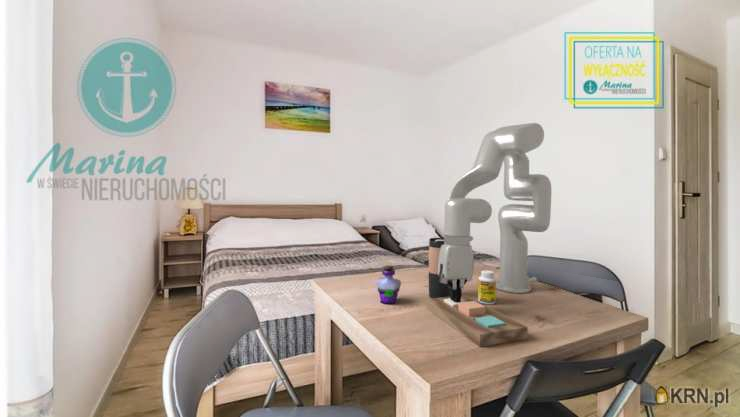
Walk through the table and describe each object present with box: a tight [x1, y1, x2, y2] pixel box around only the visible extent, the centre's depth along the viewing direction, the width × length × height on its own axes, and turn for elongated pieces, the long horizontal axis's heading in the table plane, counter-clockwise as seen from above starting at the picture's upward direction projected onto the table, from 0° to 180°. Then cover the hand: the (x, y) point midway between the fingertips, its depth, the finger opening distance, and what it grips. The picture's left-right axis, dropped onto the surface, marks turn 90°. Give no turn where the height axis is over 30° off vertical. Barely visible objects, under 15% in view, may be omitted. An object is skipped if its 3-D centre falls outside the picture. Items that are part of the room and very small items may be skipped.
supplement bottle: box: [477, 269, 497, 305], centre depth 113 cm, size 6×6×10 cm
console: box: [425, 294, 529, 348], centre depth 96 cm, size 14×27×3 cm, turn 18°
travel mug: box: [428, 237, 450, 299], centre depth 118 cm, size 8×8×20 cm
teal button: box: [475, 316, 505, 328], centre depth 89 cm, size 5×5×3 cm
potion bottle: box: [375, 265, 402, 306], centre depth 113 cm, size 9×9×12 cm
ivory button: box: [444, 298, 466, 307], centre depth 104 cm, size 5×5×3 cm
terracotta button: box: [458, 301, 485, 317], centre depth 96 cm, size 5×5×3 cm
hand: (455, 300), depth 104 cm, fingers closed
